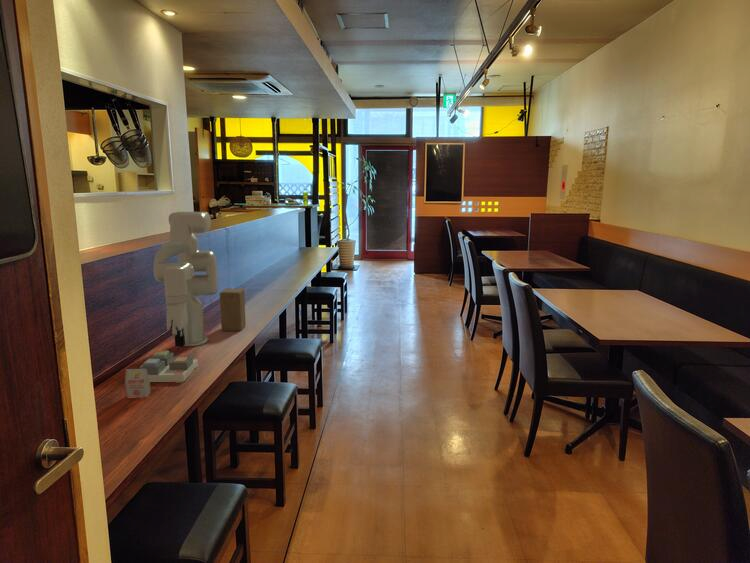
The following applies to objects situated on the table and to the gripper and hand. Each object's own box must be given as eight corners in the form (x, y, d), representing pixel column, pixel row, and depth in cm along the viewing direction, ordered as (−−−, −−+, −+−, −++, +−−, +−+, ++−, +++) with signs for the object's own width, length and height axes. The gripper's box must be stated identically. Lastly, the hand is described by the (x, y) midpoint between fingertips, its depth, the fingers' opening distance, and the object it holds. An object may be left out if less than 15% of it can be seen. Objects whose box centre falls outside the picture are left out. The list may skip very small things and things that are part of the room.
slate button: (149, 364, 180) (148, 358, 180) (160, 364, 181) (159, 358, 180) (144, 369, 176) (143, 362, 176) (155, 368, 176) (155, 362, 176)
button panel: (157, 366, 191) (156, 352, 190) (198, 366, 192) (197, 352, 191) (139, 382, 176) (138, 367, 175) (184, 382, 176) (182, 367, 175)
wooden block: (241, 331, 239) (239, 292, 235) (221, 331, 239) (218, 292, 235) (246, 325, 249) (244, 288, 245) (227, 325, 249) (224, 288, 245)
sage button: (158, 356, 189) (158, 350, 189) (169, 356, 189) (169, 350, 189) (154, 360, 185) (153, 354, 185) (165, 360, 185) (164, 354, 185)
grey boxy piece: (130, 394, 166) (127, 367, 164) (150, 393, 167) (148, 366, 165) (126, 399, 163) (123, 371, 161) (146, 398, 163) (144, 370, 161)
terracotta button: (177, 363, 185) (177, 357, 185) (188, 363, 186) (188, 357, 185) (173, 367, 181) (173, 361, 181) (185, 367, 181) (184, 361, 181)
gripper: (173, 294, 186) (177, 339, 190) (158, 304, 171) (162, 352, 175) (193, 294, 186) (196, 339, 190) (179, 304, 172) (183, 352, 176)
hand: (180, 345), depth 183 cm, fingers closed
